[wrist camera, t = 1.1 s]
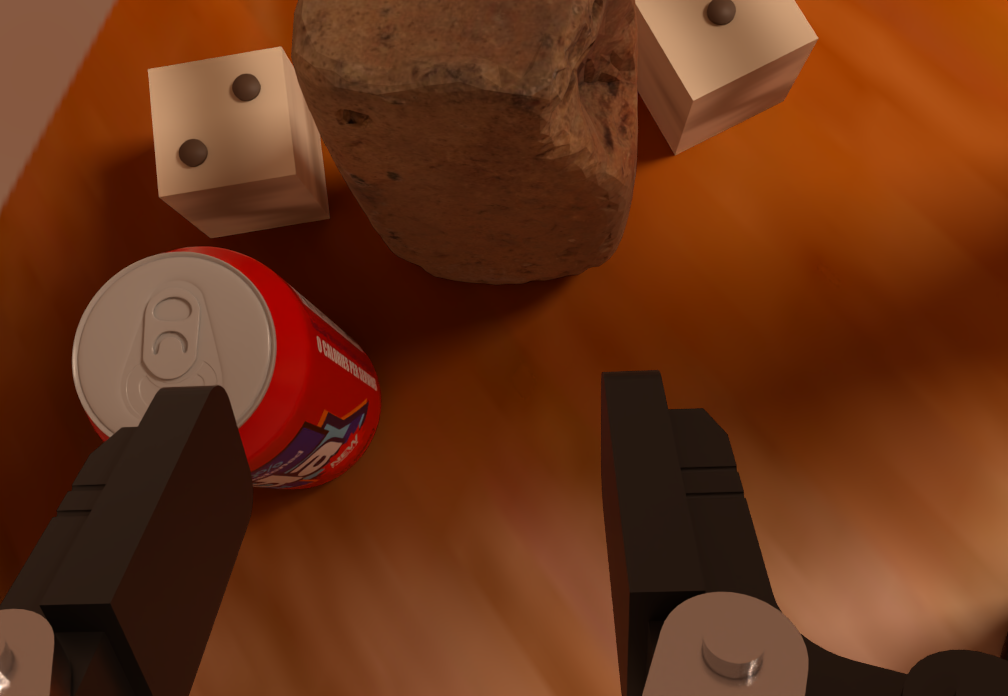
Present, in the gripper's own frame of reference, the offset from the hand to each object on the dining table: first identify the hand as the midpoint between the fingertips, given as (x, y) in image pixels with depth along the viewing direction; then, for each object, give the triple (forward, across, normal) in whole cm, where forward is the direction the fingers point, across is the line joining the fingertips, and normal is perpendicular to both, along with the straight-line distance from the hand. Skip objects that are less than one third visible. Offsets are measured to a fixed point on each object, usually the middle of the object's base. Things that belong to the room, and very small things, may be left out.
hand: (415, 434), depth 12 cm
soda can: (+24, +10, +18) cm, 32 cm away
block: (+31, 0, +12) cm, 33 cm away
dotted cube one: (+35, -10, +7) cm, 38 cm away
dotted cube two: (+33, +12, +10) cm, 36 cm away
